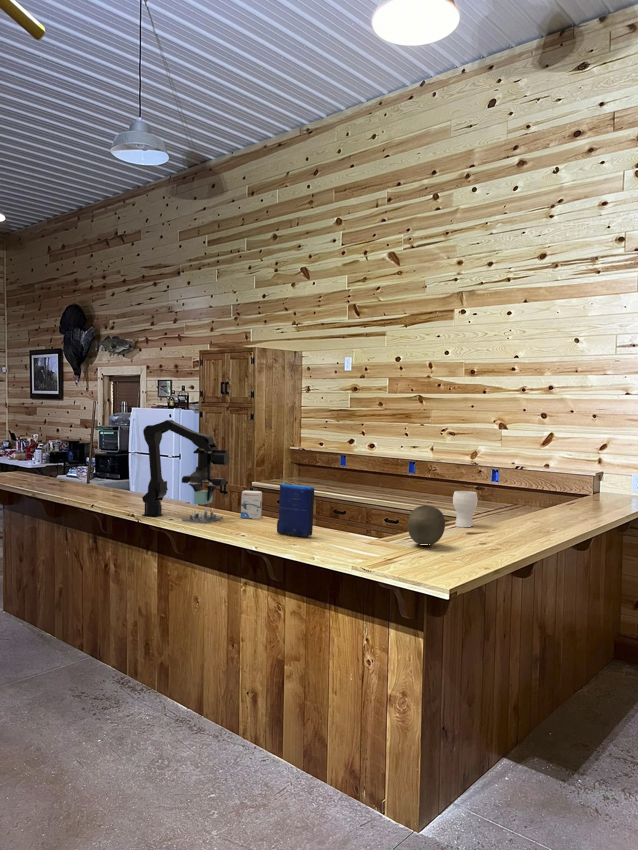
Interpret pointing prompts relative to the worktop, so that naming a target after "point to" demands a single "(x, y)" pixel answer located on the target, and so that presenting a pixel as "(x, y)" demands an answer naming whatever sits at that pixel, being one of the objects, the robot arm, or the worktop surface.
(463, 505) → the cup
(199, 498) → the block
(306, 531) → the book
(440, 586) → the worktop surface
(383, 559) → the worktop surface
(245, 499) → the ink box
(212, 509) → the metal plate device
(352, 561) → the worktop surface
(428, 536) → the dark grey sphere
